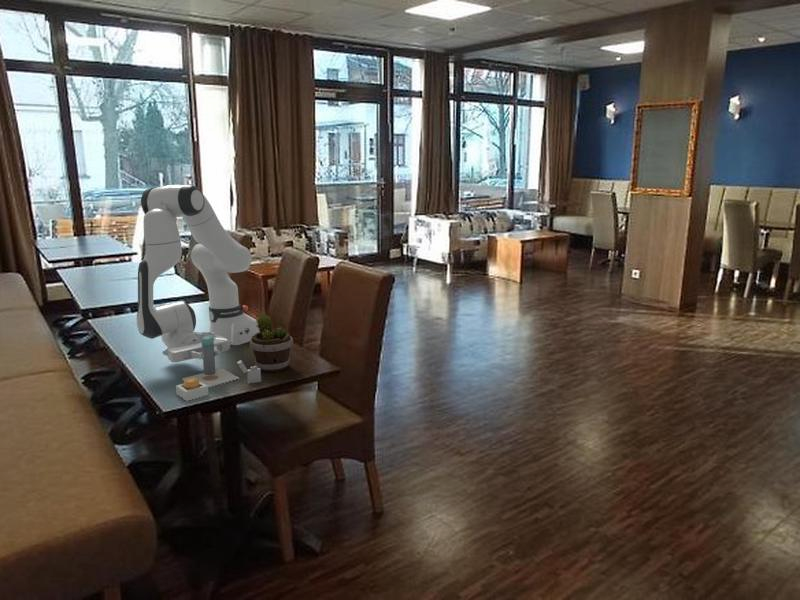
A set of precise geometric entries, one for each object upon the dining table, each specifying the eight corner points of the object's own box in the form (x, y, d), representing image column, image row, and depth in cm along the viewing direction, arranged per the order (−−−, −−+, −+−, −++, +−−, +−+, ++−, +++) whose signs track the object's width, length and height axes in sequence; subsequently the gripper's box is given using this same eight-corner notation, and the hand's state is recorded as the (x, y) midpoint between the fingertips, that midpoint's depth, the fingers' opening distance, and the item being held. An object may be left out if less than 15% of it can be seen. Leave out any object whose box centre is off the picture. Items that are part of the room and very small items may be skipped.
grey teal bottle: (212, 370, 193) (210, 335, 191) (218, 373, 191) (215, 338, 188) (201, 373, 191) (199, 338, 188) (207, 376, 188) (204, 340, 185)
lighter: (259, 379, 192) (258, 356, 190) (261, 381, 190) (260, 358, 188) (238, 383, 188) (236, 360, 186) (239, 385, 187) (238, 361, 185)
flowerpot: (303, 367, 203) (301, 312, 198) (264, 378, 193) (261, 320, 188) (279, 357, 213) (277, 304, 209) (242, 367, 203) (238, 312, 198)
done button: (195, 383, 182) (195, 377, 181) (202, 387, 178) (201, 380, 178) (181, 386, 179) (181, 380, 178) (188, 390, 175) (187, 384, 175)
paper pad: (221, 370, 200) (221, 368, 200) (239, 379, 192) (239, 377, 192) (182, 380, 191) (181, 378, 191) (198, 390, 183) (198, 388, 182)
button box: (198, 388, 184) (197, 379, 183) (208, 395, 179) (207, 385, 178) (176, 394, 179) (175, 385, 178) (186, 401, 174) (185, 391, 174)
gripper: (159, 342, 190) (177, 352, 181) (217, 330, 204) (237, 339, 195) (161, 360, 192) (179, 371, 182) (218, 347, 206) (238, 357, 196)
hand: (209, 354), depth 189 cm, fingers closed on grey teal bottle, 4 cm apart
